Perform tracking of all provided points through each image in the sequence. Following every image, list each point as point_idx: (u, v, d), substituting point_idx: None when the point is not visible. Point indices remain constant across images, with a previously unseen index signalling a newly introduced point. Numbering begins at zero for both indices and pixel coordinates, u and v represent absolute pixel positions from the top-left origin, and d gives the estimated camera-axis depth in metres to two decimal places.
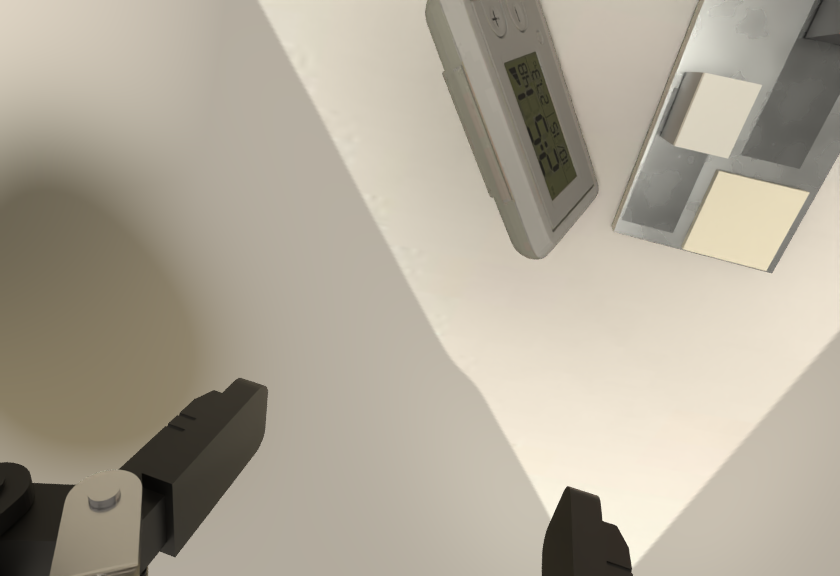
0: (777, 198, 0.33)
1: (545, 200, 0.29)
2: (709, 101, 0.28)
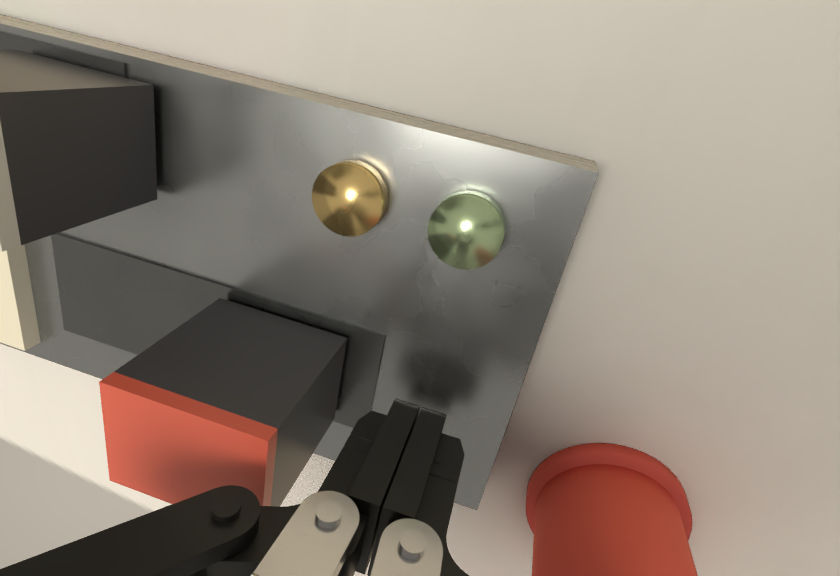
0: None
1: None
2: None
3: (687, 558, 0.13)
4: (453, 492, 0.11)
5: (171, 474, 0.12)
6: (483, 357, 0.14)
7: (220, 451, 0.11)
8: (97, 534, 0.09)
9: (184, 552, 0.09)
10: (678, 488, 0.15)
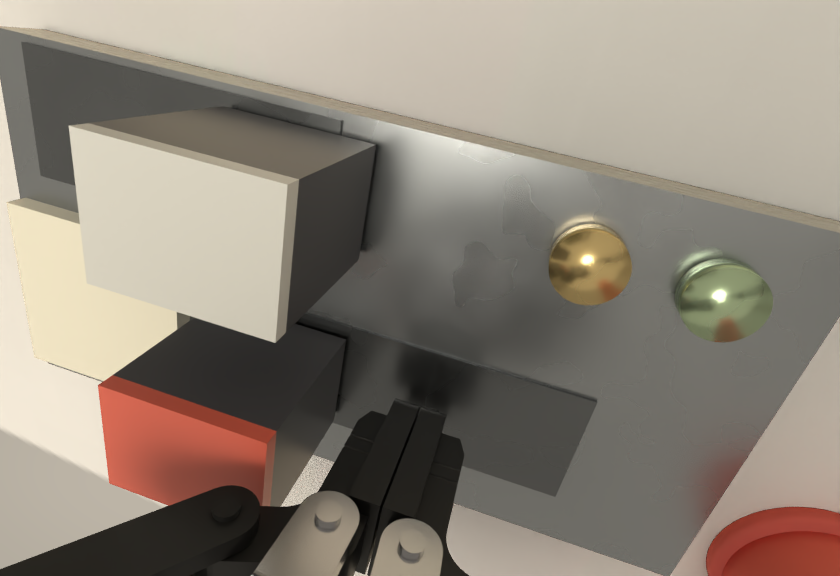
0: None
1: None
2: (211, 212, 0.08)
3: None
4: (453, 492, 0.11)
5: (171, 477, 0.12)
6: (708, 426, 0.13)
7: (219, 454, 0.11)
8: (97, 534, 0.09)
9: (184, 552, 0.09)
10: None
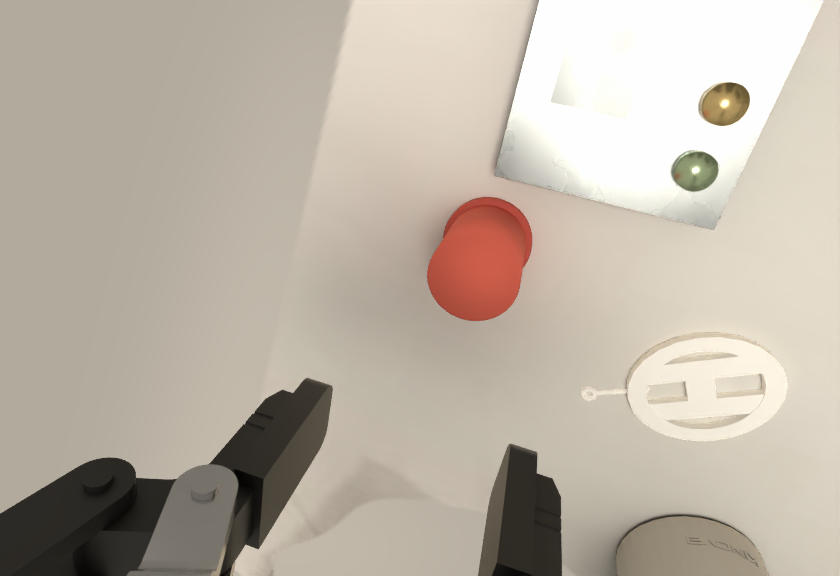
0: None
1: None
2: None
3: None
4: (558, 541, 0.11)
5: None
6: (609, 178, 0.25)
7: None
8: None
9: (66, 527, 0.09)
10: None
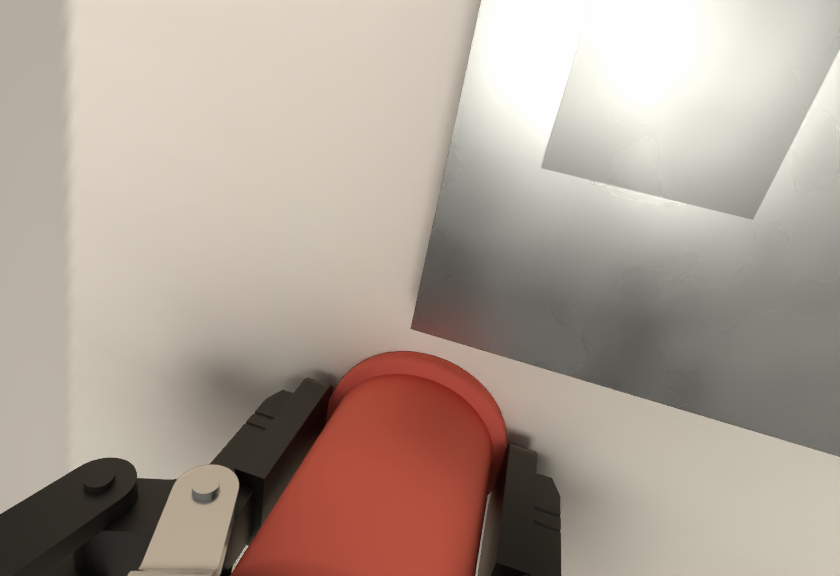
0: None
1: None
2: None
3: None
4: (558, 540, 0.11)
5: None
6: (693, 356, 0.10)
7: None
8: None
9: (67, 527, 0.09)
10: None
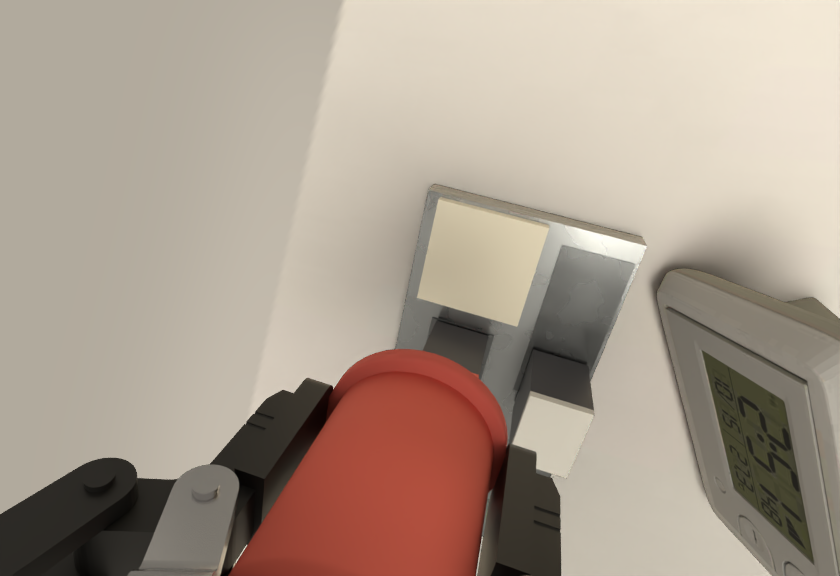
0: (448, 292, 0.27)
1: (804, 423, 0.18)
2: (558, 453, 0.24)
3: None
4: (558, 540, 0.11)
5: None
6: None
7: None
8: None
9: (67, 527, 0.09)
10: None
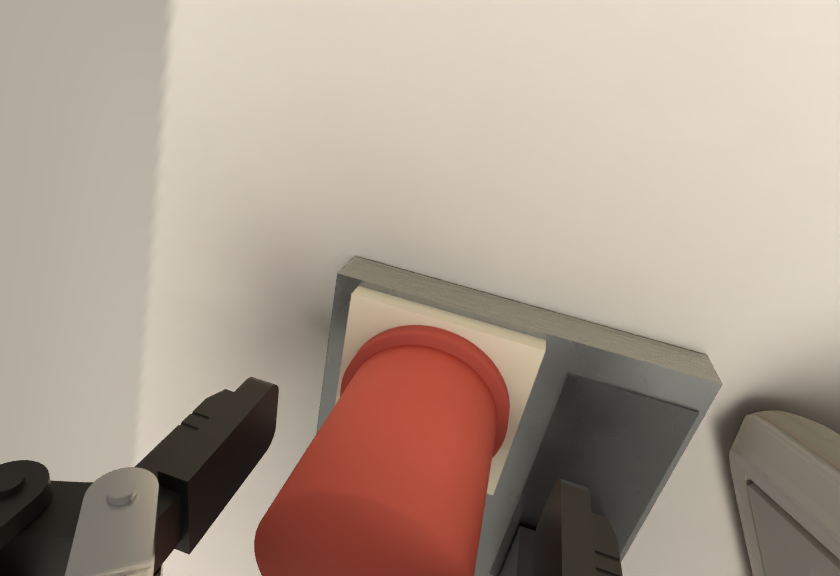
0: None
1: None
2: None
3: None
4: None
5: None
6: None
7: None
8: None
9: None
10: None
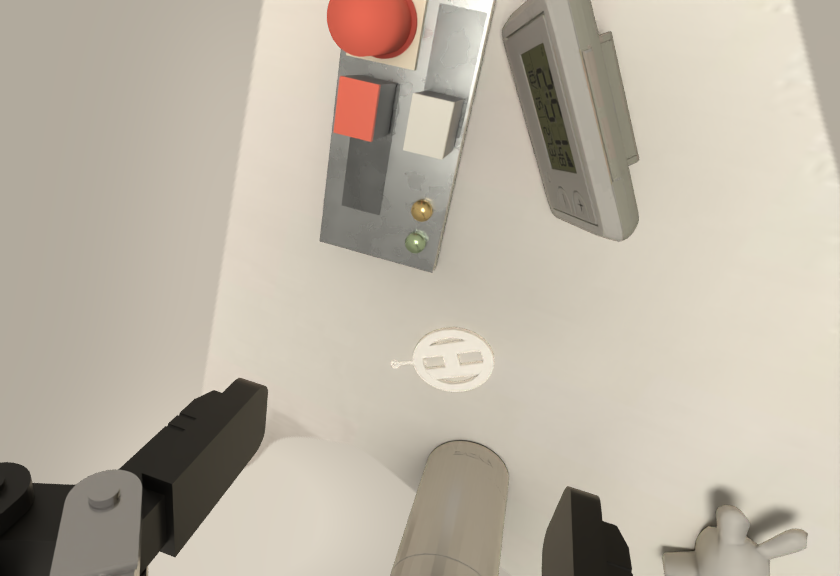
0: None
1: (549, 47, 0.29)
2: (434, 138, 0.36)
3: (391, 49, 0.36)
4: None
5: (349, 103, 0.37)
6: (377, 244, 0.46)
7: (363, 124, 0.37)
8: None
9: None
10: (401, 52, 0.38)
